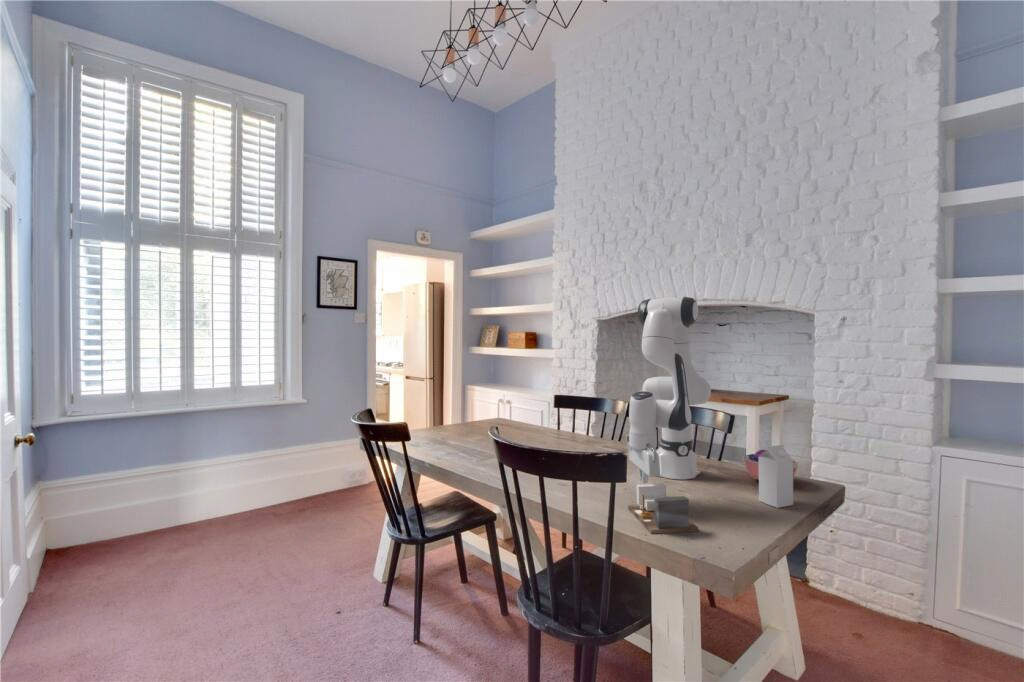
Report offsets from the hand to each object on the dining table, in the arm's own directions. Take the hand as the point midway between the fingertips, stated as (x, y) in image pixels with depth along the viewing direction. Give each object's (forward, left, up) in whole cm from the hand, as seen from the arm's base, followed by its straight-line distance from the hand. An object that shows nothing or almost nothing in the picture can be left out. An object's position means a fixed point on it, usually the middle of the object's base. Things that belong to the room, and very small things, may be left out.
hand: (644, 481), depth 161 cm
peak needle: (+15, -5, -5) cm, 17 cm away
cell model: (-14, +54, -7) cm, 56 cm away
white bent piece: (+10, 0, -6) cm, 12 cm away
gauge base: (+14, 0, -7) cm, 16 cm away
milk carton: (+7, +42, -7) cm, 43 cm away
